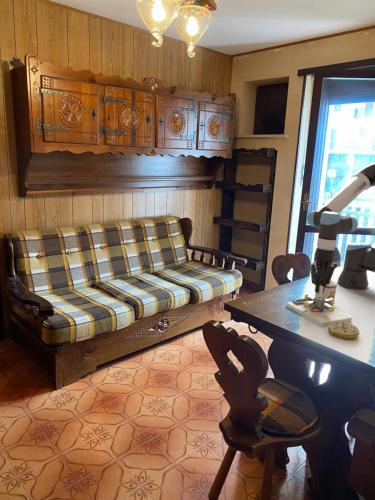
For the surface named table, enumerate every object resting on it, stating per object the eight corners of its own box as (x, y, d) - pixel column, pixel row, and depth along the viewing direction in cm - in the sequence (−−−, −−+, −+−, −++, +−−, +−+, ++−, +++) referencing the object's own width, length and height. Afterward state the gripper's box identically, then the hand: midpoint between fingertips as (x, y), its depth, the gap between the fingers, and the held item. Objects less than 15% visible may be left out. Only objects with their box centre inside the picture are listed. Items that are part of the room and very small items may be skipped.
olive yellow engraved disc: (327, 326, 154) (329, 317, 153) (356, 331, 151) (358, 322, 150) (328, 337, 145) (329, 328, 144) (359, 343, 141) (360, 334, 140)
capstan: (318, 300, 177) (320, 290, 175) (347, 314, 162) (349, 303, 161) (290, 304, 170) (291, 293, 168) (317, 319, 155) (318, 308, 154)
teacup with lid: (330, 306, 175) (334, 282, 172) (311, 301, 180) (314, 277, 177) (338, 299, 184) (342, 276, 181) (320, 294, 190) (323, 271, 187)
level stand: (313, 301, 179) (314, 295, 179) (351, 321, 160) (352, 314, 159) (285, 306, 172) (286, 299, 172) (320, 326, 153) (322, 319, 152)
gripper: (333, 245, 172) (325, 295, 178) (307, 246, 168) (300, 296, 174) (344, 250, 165) (335, 301, 171) (317, 250, 161) (310, 303, 167)
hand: (318, 299), depth 172 cm, fingers closed
